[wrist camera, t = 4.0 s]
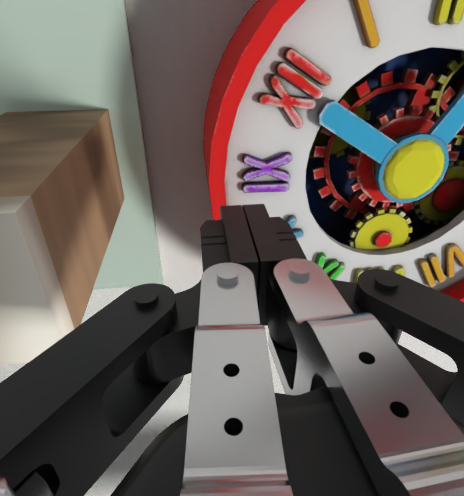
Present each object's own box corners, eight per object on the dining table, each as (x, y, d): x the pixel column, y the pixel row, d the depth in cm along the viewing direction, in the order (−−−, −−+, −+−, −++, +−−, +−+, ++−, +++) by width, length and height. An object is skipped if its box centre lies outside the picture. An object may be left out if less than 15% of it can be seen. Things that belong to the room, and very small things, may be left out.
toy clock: (414, 366, 24) (134, 256, 17) (376, 308, 29) (145, 204, 22) (731, 90, 16) (441, -327, 9) (604, 74, 21) (353, -206, 14)
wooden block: (108, 109, 19) (15, 212, 8) (124, 198, 21) (68, 358, 11) (6, 112, 18) (-221, 225, 8) (35, 203, 21) (-107, 374, 11)
